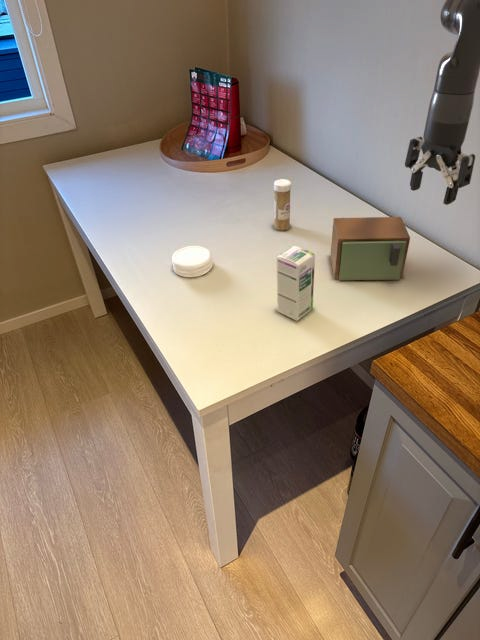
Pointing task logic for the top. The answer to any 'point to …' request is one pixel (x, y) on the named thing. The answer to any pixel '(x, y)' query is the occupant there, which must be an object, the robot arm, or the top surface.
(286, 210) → the sprinkles bottle
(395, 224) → the cupboard
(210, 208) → the top surface
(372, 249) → the sliding door
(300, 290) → the syrup box
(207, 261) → the white short cylinder
